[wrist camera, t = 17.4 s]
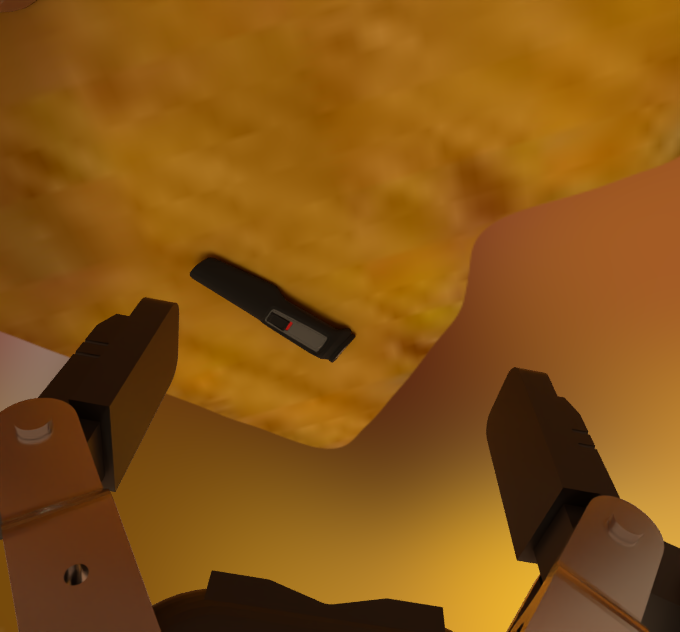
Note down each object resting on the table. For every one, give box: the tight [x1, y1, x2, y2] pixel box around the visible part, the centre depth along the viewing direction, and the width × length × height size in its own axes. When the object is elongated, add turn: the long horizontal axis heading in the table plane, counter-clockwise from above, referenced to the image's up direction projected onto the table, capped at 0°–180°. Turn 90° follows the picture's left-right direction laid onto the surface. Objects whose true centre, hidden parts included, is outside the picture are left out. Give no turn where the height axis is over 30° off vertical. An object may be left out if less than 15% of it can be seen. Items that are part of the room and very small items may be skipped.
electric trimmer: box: [190, 258, 355, 362], centre depth 46 cm, size 4×16×3 cm, turn 55°
